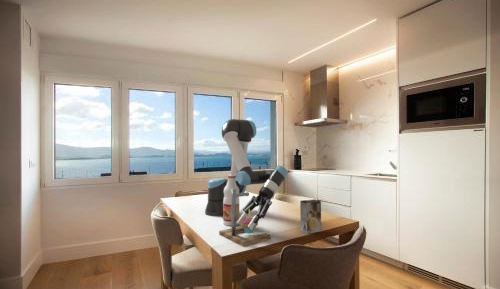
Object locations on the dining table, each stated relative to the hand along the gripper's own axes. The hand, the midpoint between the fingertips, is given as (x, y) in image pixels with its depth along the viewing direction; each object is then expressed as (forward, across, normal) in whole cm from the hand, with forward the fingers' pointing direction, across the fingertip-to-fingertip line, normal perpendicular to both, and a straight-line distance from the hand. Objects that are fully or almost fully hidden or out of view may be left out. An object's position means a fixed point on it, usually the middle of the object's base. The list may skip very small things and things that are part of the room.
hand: (244, 225), depth 134 cm
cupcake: (0, 0, -5) cm, 5 cm away
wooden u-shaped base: (+4, 0, -4) cm, 5 cm away
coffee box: (-20, -14, -28) cm, 37 cm away
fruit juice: (-2, +23, -10) cm, 25 cm away
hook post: (+4, 0, -1) cm, 4 cm away
